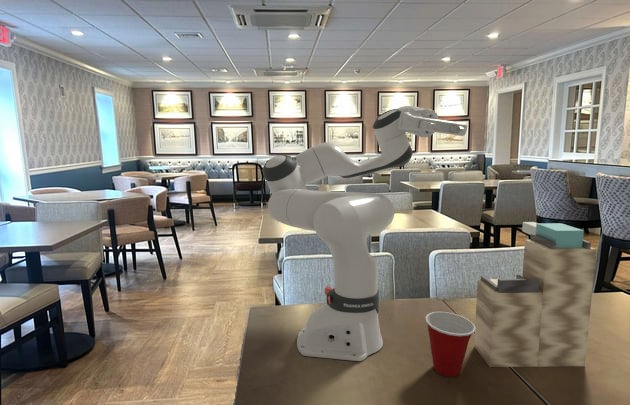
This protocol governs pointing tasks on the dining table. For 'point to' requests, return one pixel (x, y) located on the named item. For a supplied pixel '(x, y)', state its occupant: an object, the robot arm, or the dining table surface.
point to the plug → (556, 233)
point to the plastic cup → (448, 341)
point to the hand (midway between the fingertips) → (447, 128)
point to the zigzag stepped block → (538, 308)
